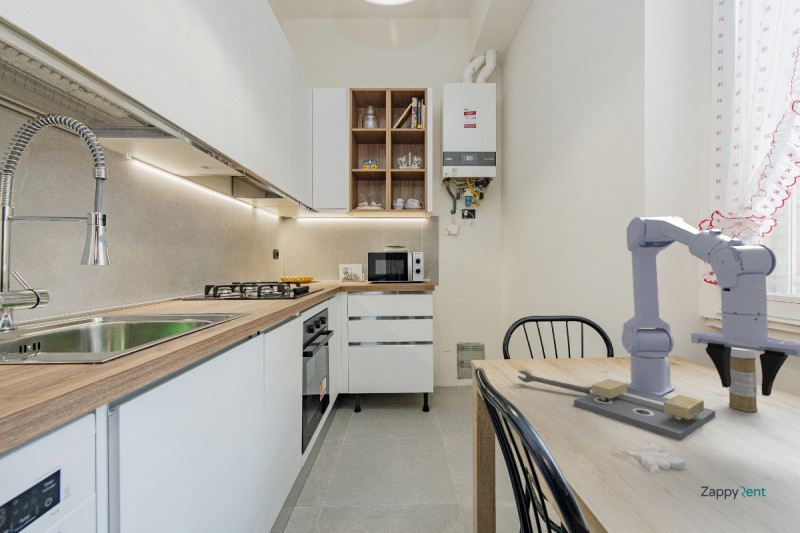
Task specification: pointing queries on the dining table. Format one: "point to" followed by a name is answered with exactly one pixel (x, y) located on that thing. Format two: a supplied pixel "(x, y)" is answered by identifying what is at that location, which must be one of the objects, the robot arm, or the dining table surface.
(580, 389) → the combination wrench
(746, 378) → the sprinkles bottle
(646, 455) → the acanthus leaf ornament
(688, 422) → the bolt plate
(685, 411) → the block
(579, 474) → the dining table surface
